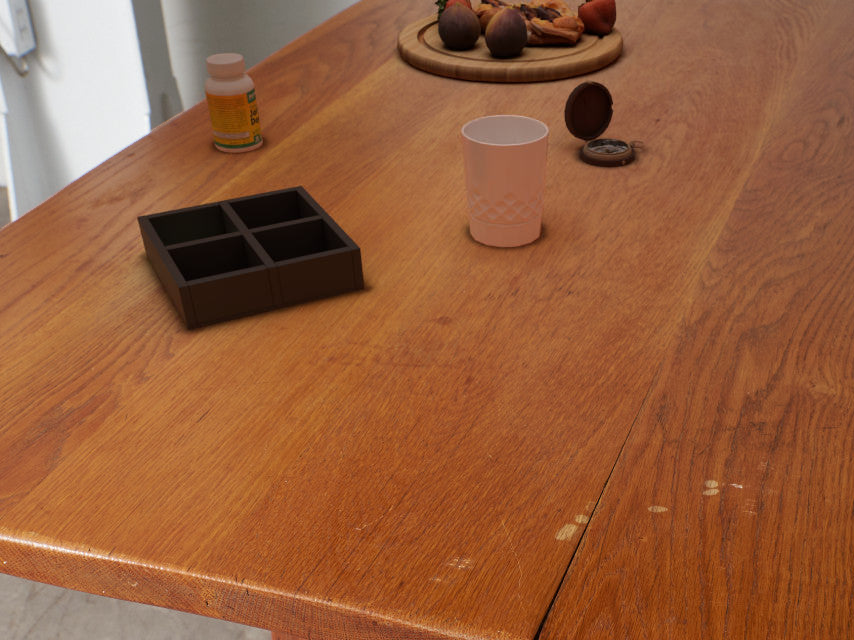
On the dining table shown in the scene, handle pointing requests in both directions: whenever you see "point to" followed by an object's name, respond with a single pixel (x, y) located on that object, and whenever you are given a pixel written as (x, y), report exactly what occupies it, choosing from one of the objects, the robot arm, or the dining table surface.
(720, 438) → the dining table surface
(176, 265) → the holder
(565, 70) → the wooden plate
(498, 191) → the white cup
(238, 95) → the supplement bottle
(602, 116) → the compass
